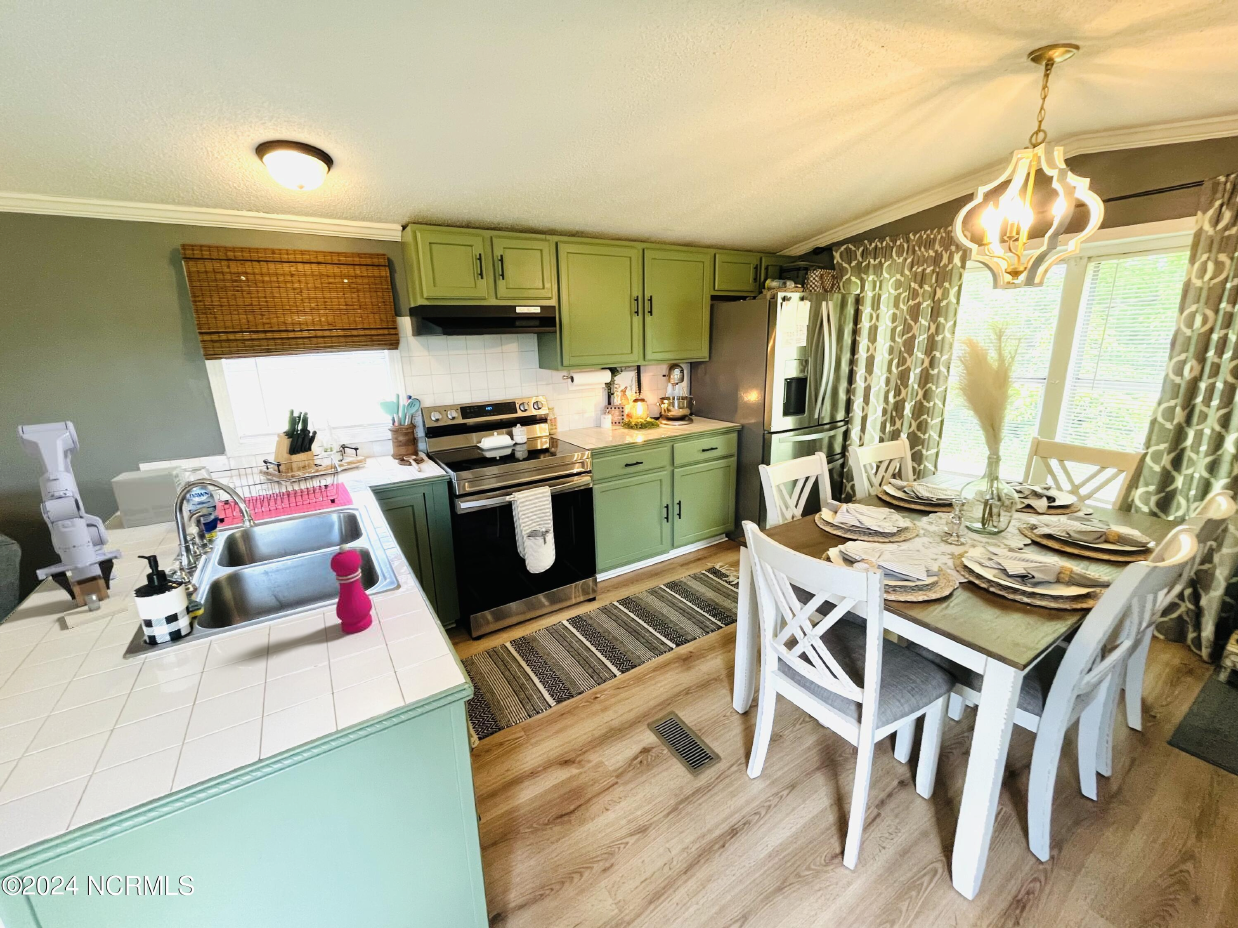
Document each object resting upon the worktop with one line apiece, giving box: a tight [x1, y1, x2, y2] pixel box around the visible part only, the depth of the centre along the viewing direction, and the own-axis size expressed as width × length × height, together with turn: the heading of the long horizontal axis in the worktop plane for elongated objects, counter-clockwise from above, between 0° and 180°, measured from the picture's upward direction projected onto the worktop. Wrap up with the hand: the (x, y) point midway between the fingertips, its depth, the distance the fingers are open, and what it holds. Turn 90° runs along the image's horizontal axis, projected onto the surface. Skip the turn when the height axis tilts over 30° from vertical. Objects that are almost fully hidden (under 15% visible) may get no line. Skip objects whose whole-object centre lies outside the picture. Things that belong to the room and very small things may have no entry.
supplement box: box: [109, 465, 186, 529], centre depth 183 cm, size 17×13×18 cm
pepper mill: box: [330, 544, 373, 634], centre depth 111 cm, size 7×7×20 cm
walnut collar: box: [69, 574, 110, 607], centre depth 126 cm, size 5×5×5 cm
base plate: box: [62, 593, 129, 630], centre depth 120 cm, size 9×10×5 cm
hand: (91, 593), depth 126 cm, fingers closed on walnut collar, 5 cm apart
